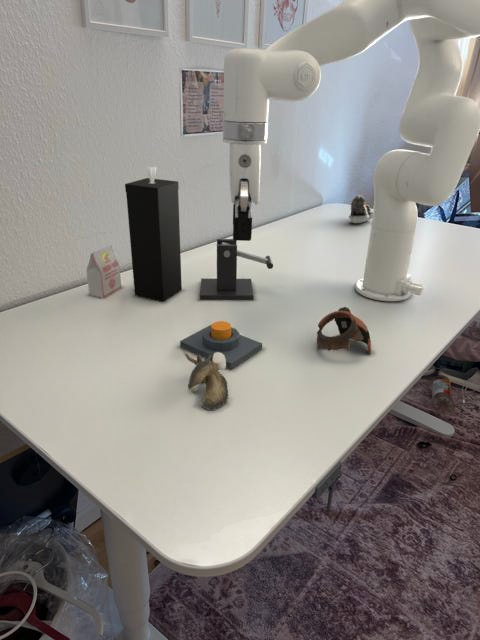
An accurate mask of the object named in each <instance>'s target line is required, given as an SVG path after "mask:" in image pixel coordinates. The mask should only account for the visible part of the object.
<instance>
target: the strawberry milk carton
mask: <svg viewBox="0 0 480 640" xmlns="http://www.w3.org/2000/svg"><path fill="white" fill-rule="evenodd" d="M114 251H115V250H114V249H113V245H110V244H109V245H107V246H105V247H103V248H100V249H98V250H95V251H93V252H92V253H91V252H90V257H89V261H88V263H87V264H88V265H87V267H86V278H87V284H88V293H89V296H92V297H96V298H101V299H104V298H105V297H107V296H110V295H111V294H113V293H114V292H116V291H118V290H120V289H121V288H122V280H121V269H120V263H119V260H118V258H117V256H116V254H115V252H114Z"/></svg>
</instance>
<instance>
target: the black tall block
mask: <svg viewBox="0 0 480 640" xmlns="http://www.w3.org/2000/svg"><path fill="white" fill-rule="evenodd" d="M146 170H147V171H146V172H147V175H148V177H146V178H142V179H138V180H134V181H131V182H127V183H125V184H124V189H125V194H126V205H127V206H126V208H127V216H128V230H129V242H130V253H131V267H132V278H133V279H132V280H133V288H134V289H133V291H134V296H136V297H139V298H143V299H148V300H152V301H156V302H161V303H164V302H166V301H168V300H169V299H170V298H172V297H174V296H175V295H176V294H178V293H179V292H181V291H182V290H183V286H182V259H181V233H180V232H181V231H180V230H181V229H180V206H179V205H180V204H179V202H180V201H179V187H180V186H179V181H176V180H168V179H161V178H160V179H158V178H156V175H157V166H146Z"/></svg>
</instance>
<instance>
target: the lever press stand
mask: <svg viewBox="0 0 480 640" xmlns="http://www.w3.org/2000/svg"><path fill="white" fill-rule="evenodd" d="M237 241H238V240H233V238H217V239H216V278H208V277H207V278H205V277H204V278H203V277H201V278H200V288H199V301H254V288H253V282H252V278H238V277H237V276H238V275H237V273H238V272H237V271H238V269H237V268H238V256H237V250H238V245H237V243H238V242H237ZM222 242H224V243H228V244H222ZM230 244H231V245H230Z"/></svg>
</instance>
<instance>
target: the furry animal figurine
mask: <svg viewBox="0 0 480 640" xmlns="http://www.w3.org/2000/svg"><path fill="white" fill-rule="evenodd" d="M184 356H185V358H186V359H187V360H188V361H189V362H191V363H192V364H194V365H195V366H194V368H193V369H192V371H191V373H190V376H189V380H188V384H187V388H188V390H191V389H192V393H194V392H195V391H199V389H200V388H201V387H202V386H203V385H204V384H205V391H204V395H203V398H202V400H201V404H200V406H201V407H203V409H204V410H205V409H207V411H213V412H214V411H215V410H218V409H219V408H221V407H223V406H224V405H225V404H226V403H227V401H228V398H229V390H228V381H227V379H226V377H225V376H224V375H223V374H222V373H221V372H220V371H223V370H225V369H226V359H225V355H223V354H222V353H220V352H215V353H214V354H213V358H212V361H210V358H211V355H209V357H208V359H206V358H205V359H204V360H202V357H201V356H200V355H197V356H196V359H195V358H193V357H192V356H190V355H189V354H188V353H186V352H184Z"/></svg>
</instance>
